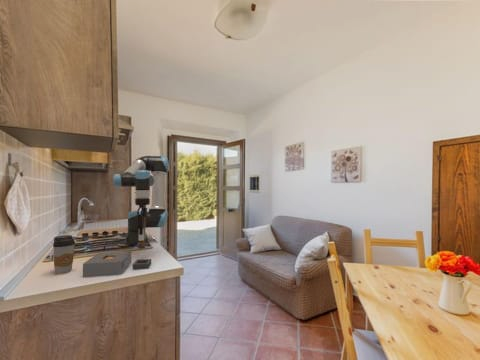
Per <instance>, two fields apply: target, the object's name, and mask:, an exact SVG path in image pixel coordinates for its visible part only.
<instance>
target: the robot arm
mask: <svg viewBox="0 0 480 360" xmlns="http://www.w3.org/2000/svg"><path fill="white" fill-rule="evenodd" d="M168 172H170V162H169V159H168V157H167V156H162V155H145V156H140V157H138V158H136V159H135V160H133V161H132V163H131V165H130V166H129V167H128V168H127V169H126V170H125V171H123V173H115V174H114V175H113V178H112V182H113V186H115V187H118V188H119V187H120V188H122V187H123V188H124V187H125V188H127V187H128V188H129V187H130V188H132V187H134V188H135V190H134V194H135V195H134V196H135V199H134V204H135V206H138V209H137V210H133V211H129V212H128V214H127V234H126V236H125V239H124V244H125V245H127V244H138V243H139V241H142V240H144V217H145V242H146V243H148V242H147V241H149V238H148V235H147V231H146V229H147V228H151V229H152V228H163V227H165V226H166V225H167V219H168V214H169V213H168V211H167V210H166V207H164V201H165V179H166V175H167V174H168ZM151 187H152V188H151ZM150 188H151V190H150ZM150 198H151V199H150ZM150 203H151V204H150ZM148 205H150V208H148V207H147V206H148ZM138 245H139V244H138Z"/></svg>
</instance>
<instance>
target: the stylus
mask: <svg viewBox="0 0 480 360" xmlns="http://www.w3.org/2000/svg"><path fill="white" fill-rule="evenodd" d="M144 248H146V243H145V217H144V240H142V241H139V244H138V249H144Z"/></svg>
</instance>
